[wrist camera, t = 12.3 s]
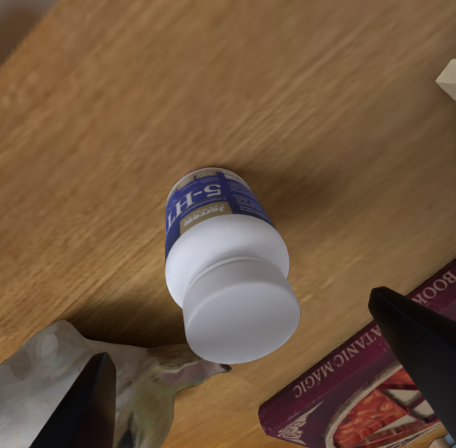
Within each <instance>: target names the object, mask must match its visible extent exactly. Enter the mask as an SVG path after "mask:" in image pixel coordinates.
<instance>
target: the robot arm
mask: <svg viewBox="0 0 456 448" xmlns="http://www.w3.org/2000/svg"><path fill="white" fill-rule="evenodd" d="M368 308H369V311H370V313H371V315H372V316H373V318H374V320H375V322H376V323H377V325H378V327H379V329H380V331H381V332H382V334H383V336H384V338H385V340H386V341H387V343H388V345H389V347H390V348H391V350H392V352H393V353H394V355H395V356H396V358H397V359H398V361H399V362H400V363H401V365H402V366H403V368H404V369H405V371H406V372H407V374H408V375H409V376H410V378H411V379H412V381H413V382H414V384H415V385H416V387H417V388H418V389H419V391H420V392H421V394H422V395H423V397H424V398H425V399H426V401H427V402H428V404H429V405H430V407H431V408H432V410H433V411H434V412H435V414H436V415H437V417H438V418H439V420H440V421H441V423H442V424H443V425H444V427H445V428H446V430H447V431H448V433H449V434H450V436H451V437H452V438H453V440H454V441H455V443H456V322H455V321H453V320H451V319H449V318H447V317H445V316H443V315H441V314H439V313H437V312H435V311H433V310H431V309H429V308H427V307H425V306H423V305H421V304H419V303H417V302H415V301H413V300H411V299H409V298H407V297H405V296H403V295H401V294H399V293H397V292H395V291H393V290H391V289H389V288H387V287H384V286H381V287H377V288H373V289H372V290H371V294H370V298H369V303H368ZM116 379H117V372H116V367H115V365H114V363H113V361H112V359H111V357H110V355H109V354H108V353H107V352H102V353H97V354H94V355H93V356H92V357H91V358H90V359H89V361H88V362H87V364H86V365H85V367H84V368H83V370H82V371H81V372H80V374H79V375H78V377H77V378H76V380H75V381H74V383H73V384H72V386H71V387H70V388H69V390H68V391H67V393H66V394H65V396H64V397H63V399H62V400H61V402H60V403H59V404H58V406H57V407H56V409H55V410H54V412H53V413H52V415H51V416H50V418H49V419H48V420H47V422H46V423H45V425H44V426H43V428H42V429H41V431H40V432H39V434H38V435H37V436H36V438H35V439H34V441H33V442H32V444H31V445H30V447H29V448H112V447H113V439H114V431H115V416H116Z"/></svg>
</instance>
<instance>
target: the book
mask: <svg viewBox="0 0 456 448" xmlns="http://www.w3.org/2000/svg"><path fill="white" fill-rule="evenodd" d="M406 297H407V298H409V299H411V300H413V301H415V302H417V303H419V304H421V305H423V306H425V307H427V308H429V309H431V310H433V311H435V312H437V313H439V314H441V315H443V316H445V317H447V318H449V319H451V320H453V321H455V322H456V259H455V260H454V261H452V262H451V263H450V264H449V265H447V266H446V267H445V268H443V269H442V270H441V271H439V272H438V273H437V274H435V275H434V276H433V277H431V278H430V279H429V280H427V281H426V282H425V283H423V284H422V285H421V286H419V287H418V288H417V289H415V290H414V291H413V292H411V293H410V294H409V295H407V296H406ZM258 415H259V419H260V423H261V426H262V428H263V430H264V431H265V433H266V435H268V436H272V437H275V438H278V439H282V440H285V441H288V442H292V443H295V444H298V445H302V446H305V447H308V448H396V447H398V446H399V445H402V446H403V447H405V446H406V445H408V444H410V443H411V442H413V441H415V440H416V439H418V438H420V437H421V436H423V435H425V434H427V433H428V432H430V431H432V430H433V429H435V428H437V427H438V426H440V425H442V423H441V421H440V420H439V418H438V417H437V415H436V414H435V412H434V411H433V410H432V408H431V407H430V405H429V404H428V402H427V401H426V399H425V398H424V397H423V395H422V394H421V392H420V391H419V389H418V388H417V387H416V385H415V384H414V382H413V381H412V379H411V378H410V376H409V375H408V374H407V372H406V371H405V369H404V368H403V366H402V365H401V363H400V362H399V361H398V359H397V358H396V356H395V355H394V353H393V352H392V350H391V348H390V347H389V345H388V343H387V341H386V340H385V338H384V336H383V334H382V332H381V331H380V329H379V327H378V325H377V323H376V322H375V320H374V321H373V322H372V323H370V324H369V325H368V326H366V327H365V328H364V329H362V330H361V331H360V332H358V333H357V334H356V335H354V336H353V337H352V338H350V339H349V340H348V341H346V342H345V343H344V344H342V345H341V346H340V347H338V348H337V349H336V350H334V351H333V352H332V353H330V354H329V355H328V356H326V357H325V358H324V359H322V360H321V361H320V362H318V363H317V364H316V365H315V366H313V367H312V368H311V369H309V370H308V371H307V372H305V373H304V374H303V375H301V376H300V377H299V378H297V379H296V380H295V381H293V382H292V383H291V384H289V385H288V386H287V387H285V388H284V389H283V390H281V391H280V392H279V393H277V394H276V395H275V396H273V397H272V398H271V399H269V400H268V401H267V402H265V403H264V404H263V405H261V406H260V407H259V411H258Z"/></svg>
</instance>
